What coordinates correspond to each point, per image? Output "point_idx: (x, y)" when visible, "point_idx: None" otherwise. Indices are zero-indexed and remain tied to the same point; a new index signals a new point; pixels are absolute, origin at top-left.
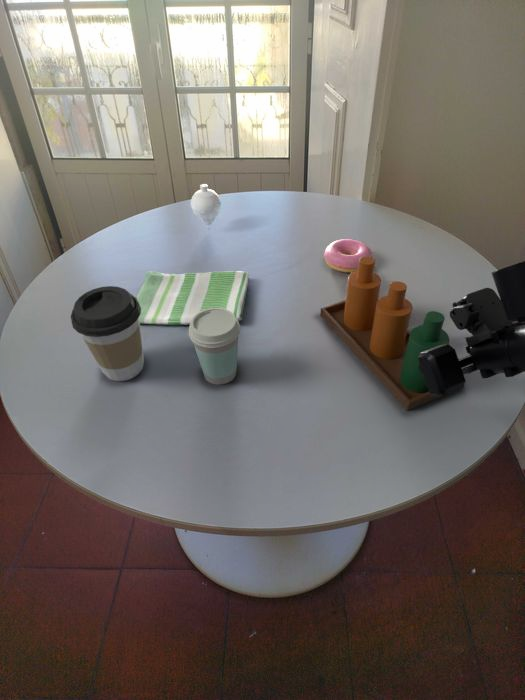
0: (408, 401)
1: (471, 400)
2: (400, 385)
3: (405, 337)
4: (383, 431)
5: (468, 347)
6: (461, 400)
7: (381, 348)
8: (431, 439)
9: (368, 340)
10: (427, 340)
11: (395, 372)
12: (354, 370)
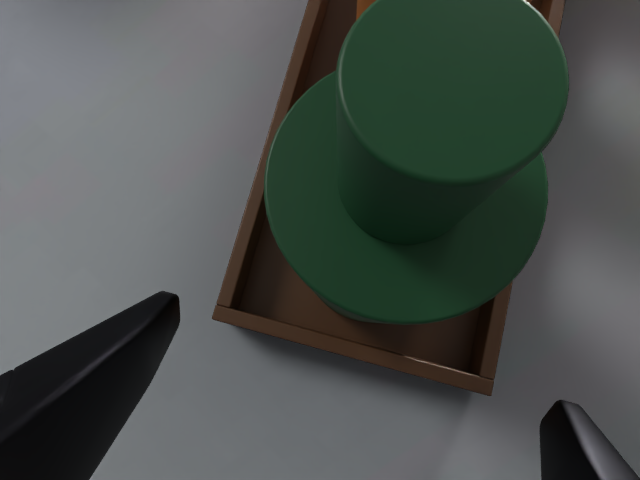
0: (215, 313)
1: (455, 456)
2: None
3: None
4: (92, 323)
5: (563, 427)
6: (424, 428)
7: None
8: (178, 463)
9: None
10: (342, 200)
11: None
12: (248, 74)
